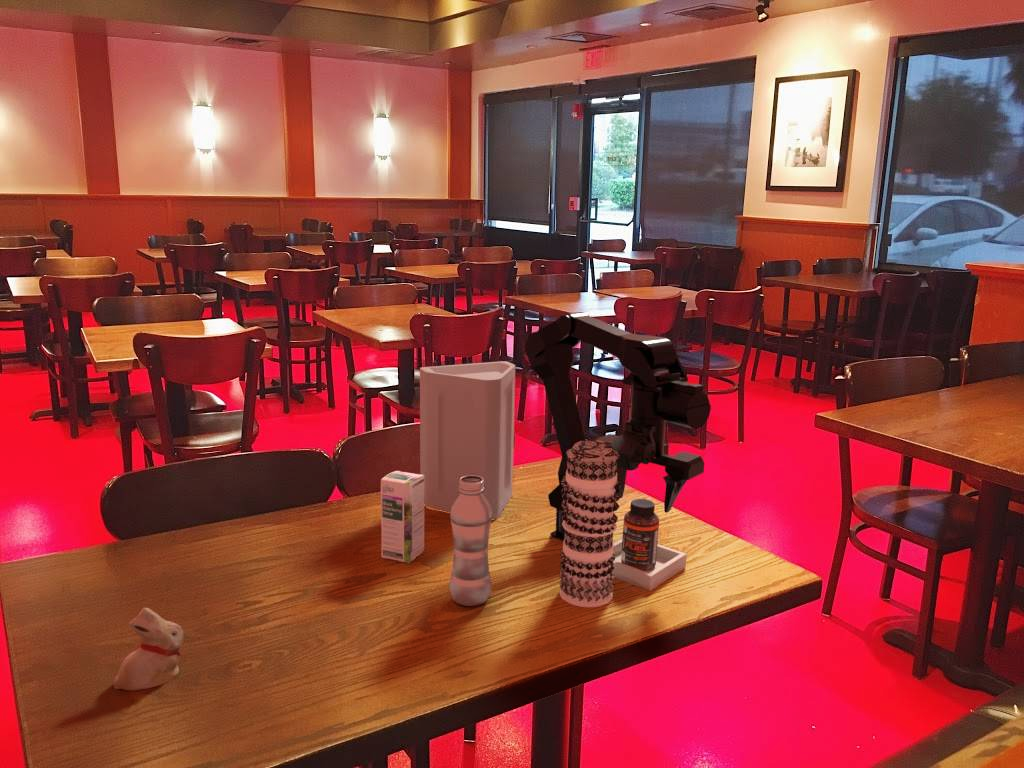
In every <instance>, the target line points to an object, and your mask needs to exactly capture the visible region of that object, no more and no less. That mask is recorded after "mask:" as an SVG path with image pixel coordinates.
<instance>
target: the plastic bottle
mask: <svg viewBox="0 0 1024 768" xmlns="http://www.w3.org/2000/svg"><path fill="white" fill-rule="evenodd" d="M483 483H484V480H483V478H482V477H480V476H474V475H469V476H464V477H462V478H460V487H459V492H460V493H461V494H460V496H459V497H458V498H457V499H456V501H455V502H454V504H453V505H452V508H451V511H450V514H449V516H450V518H449V519H450V523H451V524H450V525H451V532H452V543H453V544H452V545H453V559H452V571H451V575H450V580H449V590H450V596H451V598H452V599H453V600H454V602H455V603H457V604H459V605H461V606H466V607H473V606H474V607H475V606H478V605H481V604H483V603H485V602H486V601H487V600H488V599H489V597H490V595H491V590H492V578H491V577H492V576H491V572H490V567H489V566H490V565H489V539H490V537H489V536H490V530H491V523H492V520H491V518H492V511H491V507H490V505H489V503H488V501H487V500H486V499H485V497H484V496H483V495H482V493H483V492H484V487H483Z"/></svg>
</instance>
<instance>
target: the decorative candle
mask: <svg viewBox="0 0 1024 768" xmlns="http://www.w3.org/2000/svg"><path fill="white" fill-rule="evenodd" d="M566 454H567V455H568V461H567V467H568V469H567V471H566V476H564V477H563V480H562V482H561V485H562V486H563V489H562V490H561V493H562V498H563V502H562V504H561V506H562V507H563V511H562V513H561V514H562V515H563V516H562V519H563V523H562V526H563V527H564V529H565V539H564V541H563V542H562V551H561V552H560V558H561V560H560V568H561V570H560V572H559V577H560V580H559V588H560V590H559V595H560V598H561V599H562V600H563V601H565V602H566V603H568V604H570V605H573V606H576V607H579V608H580V607H582V608H600V607H602V606H606V605H607V604H609V602H611V601H612V600H613V595H614V594H613V591H612V590H614V585H613V584H614V582H613V581H614V580H615V577H613V573H612V572H613V570H614V566H613V565H614V564H613V561H614V560H615V557H614V553H613V545H614V544H613V543H614V542H613V539H614V532H615V531H616V529H617V521H618V519H619V517H618V515H616V514H615V513H614V512H616V511H618V509H619V508H620V505H619V503H618V501H619V500H620V499H621V498H620V495H619V494H618V493H617V492H615V491H616V490H617V489H619V488H620V487H621V486H622V484H621V483H620V481H619V480H617V472H616V467H617V459H618V458H619V454H618V453H617V452H616V451H614V449H613V447H612V446H611V445H610V444H609V443H606V442H604V441H599V440H595V439H586V440H583V441H579V442H577V443H575V444H574V446H573V447H572V448H571V449H569V450H567V453H566ZM566 482H567V484H566ZM566 491H567V494H566V493H565V492H566ZM619 498H620V499H619ZM566 504H567V506H566Z"/></svg>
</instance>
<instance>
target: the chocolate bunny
mask: <svg viewBox="0 0 1024 768" xmlns="http://www.w3.org/2000/svg"><path fill="white" fill-rule="evenodd" d="M128 627H129V628H130V630H131V631H133V632H135V633H136V635H137V636H138V637H139V638H140V646H139V648H138V649H136V650H135V651H132V652H131V653H129V654H128V655H127V656H126V657H125V658H124V659H123V660H122V662H121V665H120V668H119V670H118V673H117V674H116V676H115V678H114V680H113V688H114V689H115V690H116V689H117V690H119V689H120V690H121V689H122V690H125V691H132V692H133V691H134V692H135V691H138V690H147V689H151V688H155V687H159V686H161V685H163V684H166V683H168V682H169V681H171V680H173V679H175V678H176V677H177V676H178V675H179V674H180V668H179V666H178V663H179V660H180V658H181V657H183V652H181V651H180V647H181V646H182V644H183V642H184V630H183V628H182V627H181V626H180V625H179V624H178V623H175V622H173V621H171V620H170V621H169V620H166V619H164V618H162V617H161V616H160V615H159V614H158V613H156V612H155V611H154V610H152V609H151V608H149V607H142V609H141V610H140V612H139V614H138V615H137V616H136V617H135V618H134V619H131V620H130V621H129V623H128Z"/></svg>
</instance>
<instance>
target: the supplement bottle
mask: <svg viewBox="0 0 1024 768" xmlns="http://www.w3.org/2000/svg"><path fill="white" fill-rule="evenodd" d="M655 504H656V503H655V502H653V501H652V500H650V499H646V498H636V499H633V500H631V502H630V507H629V508H630V509H629V511H627V512H626V513H625V514H624V517H623V526H622V527H623V528H622V538H623V539H622V538H621V539H622V554H621V562H622V564H625V565H628V566H631V567H633V568H636V569H639V570H642V571H647V570H651V569H652V568H654V567H655V565H656V556H657V544H658V543H659V528H660V519H659V516H658V514H656V513H655Z"/></svg>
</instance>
